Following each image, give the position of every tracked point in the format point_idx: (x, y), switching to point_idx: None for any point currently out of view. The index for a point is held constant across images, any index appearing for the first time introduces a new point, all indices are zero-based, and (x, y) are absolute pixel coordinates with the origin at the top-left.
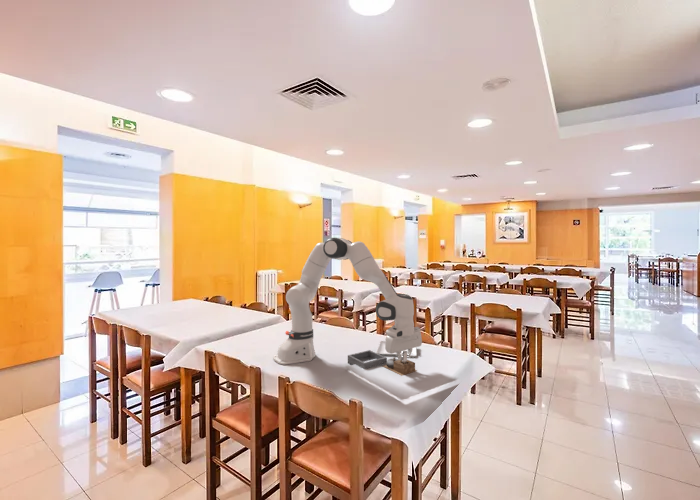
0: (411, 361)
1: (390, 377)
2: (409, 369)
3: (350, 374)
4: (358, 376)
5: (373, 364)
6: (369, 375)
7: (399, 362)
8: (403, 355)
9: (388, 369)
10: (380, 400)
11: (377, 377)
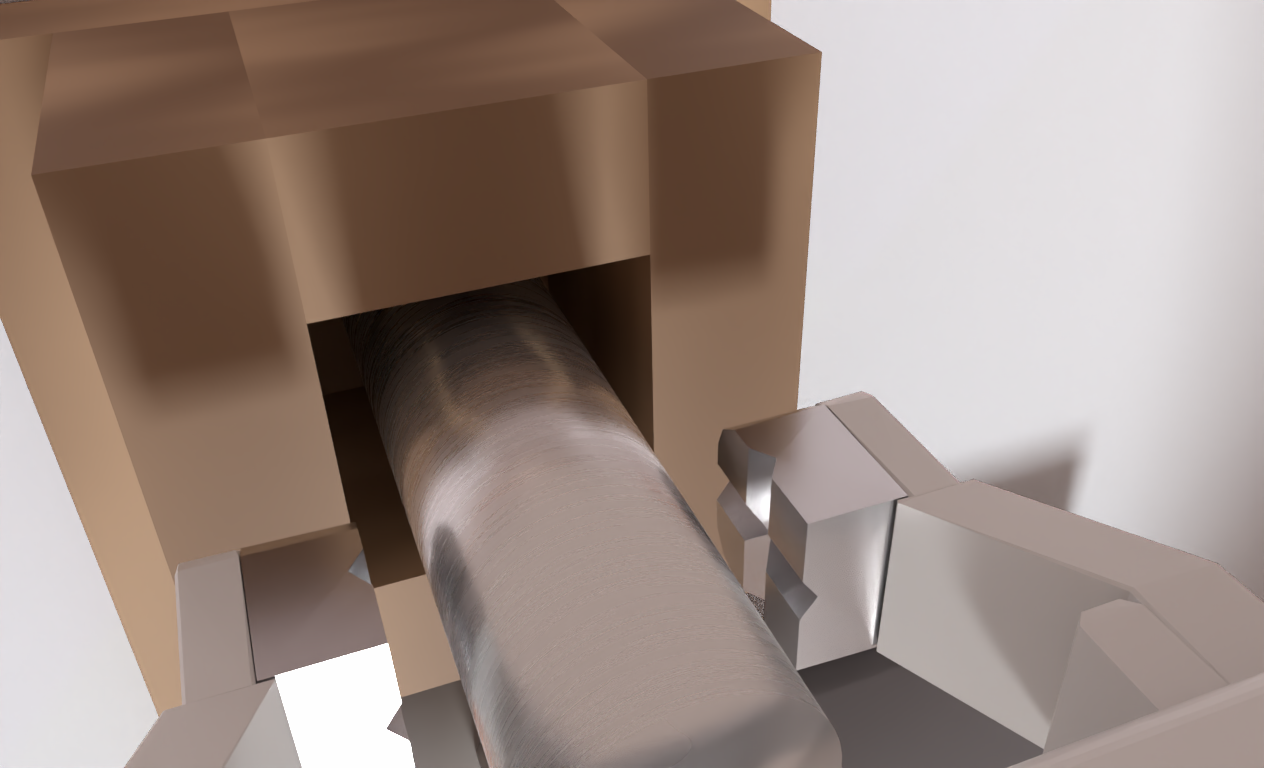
0: (128, 402)
1: (878, 167)
2: (421, 33)
3: (1257, 555)
4: (1249, 450)
5: (906, 733)
6: (1103, 429)
7: (687, 457)
8: (738, 586)
9: None
10: None
11: (1077, 289)
